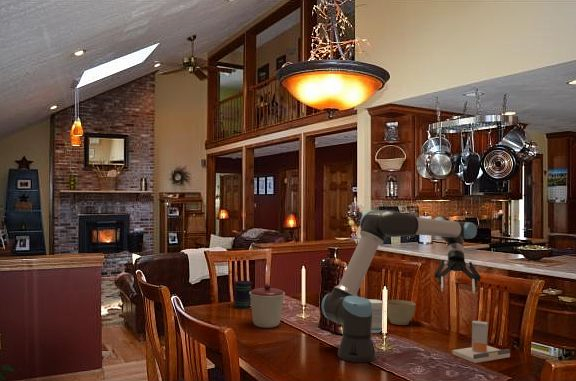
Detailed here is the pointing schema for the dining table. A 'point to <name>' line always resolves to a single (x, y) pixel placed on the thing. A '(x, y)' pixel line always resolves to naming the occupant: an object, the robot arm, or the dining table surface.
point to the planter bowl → (400, 311)
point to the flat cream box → (481, 354)
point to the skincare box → (479, 336)
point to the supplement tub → (376, 315)
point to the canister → (266, 306)
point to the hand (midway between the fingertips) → (458, 290)
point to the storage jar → (242, 295)
